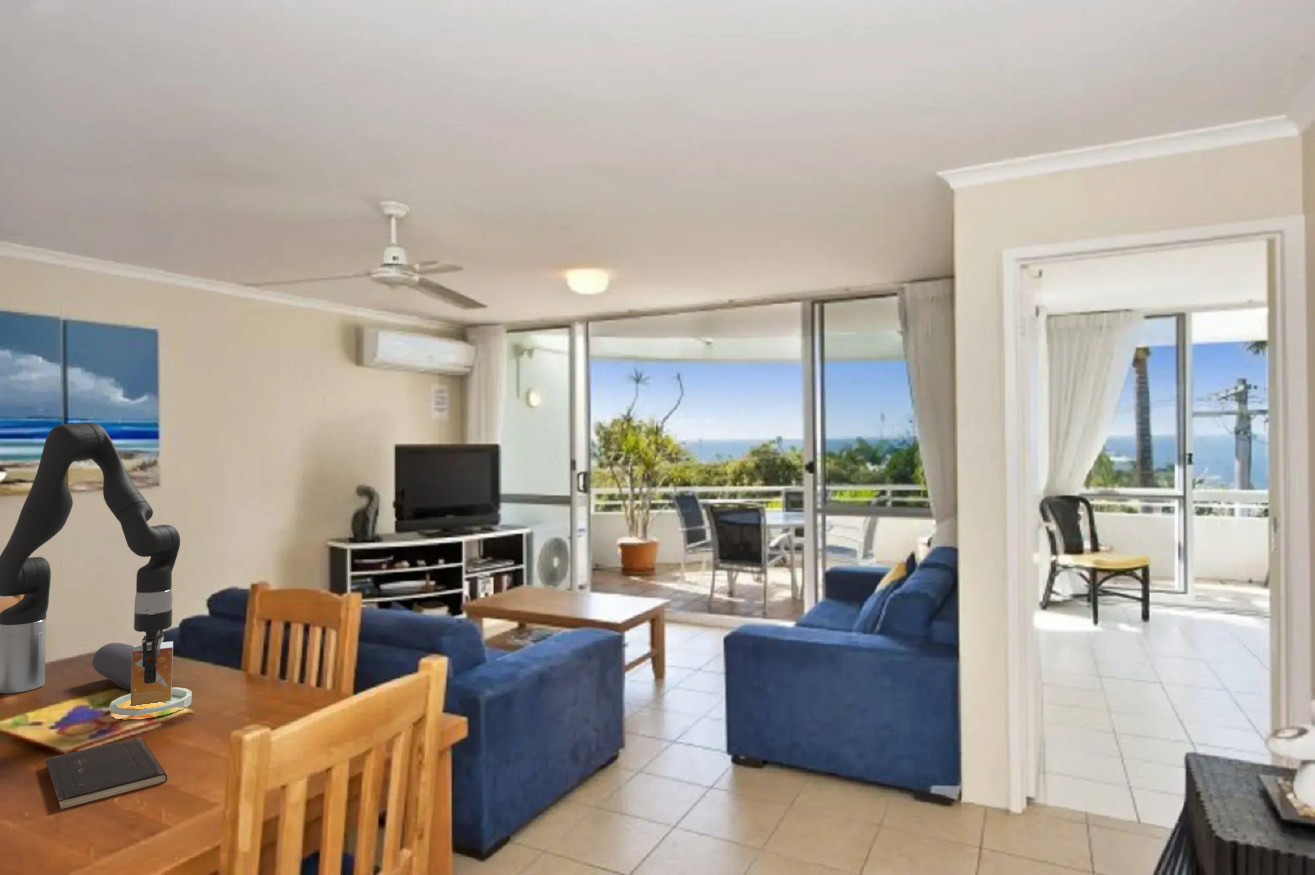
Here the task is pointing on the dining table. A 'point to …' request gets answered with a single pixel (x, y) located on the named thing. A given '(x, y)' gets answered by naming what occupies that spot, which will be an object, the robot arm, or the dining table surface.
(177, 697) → the round tray
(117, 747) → the hardcover book
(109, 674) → the bluetooth speaker
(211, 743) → the dining table surface
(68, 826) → the dining table surface
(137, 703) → the small box
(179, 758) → the dining table surface
